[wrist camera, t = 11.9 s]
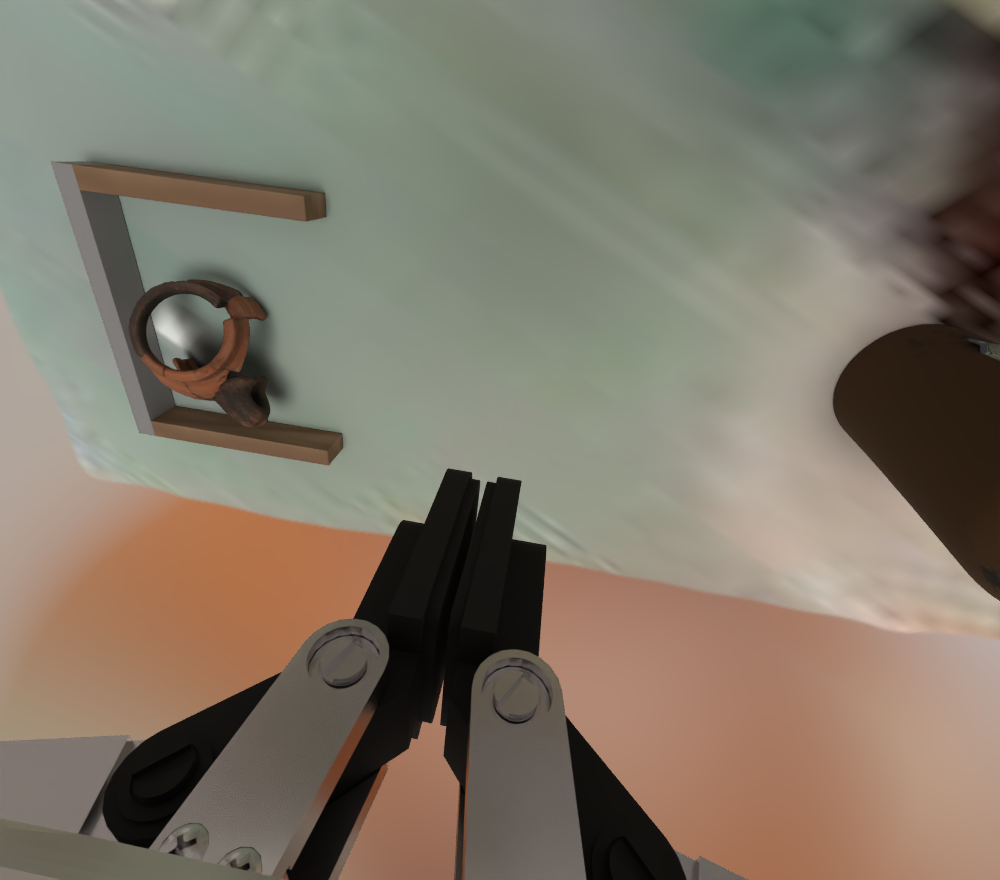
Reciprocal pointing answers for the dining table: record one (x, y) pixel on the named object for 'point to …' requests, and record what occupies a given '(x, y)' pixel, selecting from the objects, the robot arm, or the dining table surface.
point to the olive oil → (934, 433)
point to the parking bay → (120, 287)
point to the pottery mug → (210, 381)
